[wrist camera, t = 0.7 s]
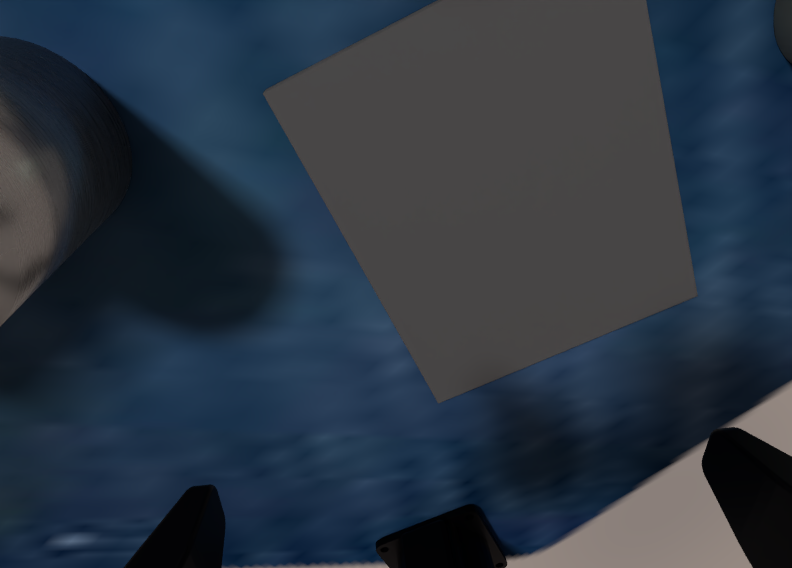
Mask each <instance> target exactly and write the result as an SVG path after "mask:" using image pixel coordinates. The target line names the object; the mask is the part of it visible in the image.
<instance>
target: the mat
mask: <svg viewBox="0 0 792 568" xmlns="http://www.w3.org/2000/svg"><path fill="white" fill-rule="evenodd" d="M263 95H264V96H265V98H266V100H267V102H268V103H269V105H270V107H271V109H272V110H273V112H274V114H275V116H276V118H277V119H278V121H279V123H280V125H281V126H282V128H283V130H284V132H285V133H286V135H287V137H288V139H289V140H290V142H291V144H292V146H293V148H294V149H295V151H296V153H297V155H298V156H299V158H300V160H301V162H302V163H303V165H304V167H305V169H306V170H307V172H308V174H309V176H310V178H311V179H312V181H313V183H314V185H315V186H316V188H317V190H318V192H319V193H320V195H321V197H322V199H323V200H324V202H325V204H326V206H327V208H328V209H329V211H330V213H331V215H332V216H333V218H334V220H335V222H336V223H337V225H338V227H339V229H340V231H341V232H342V234H343V236H344V238H345V239H346V241H347V243H348V245H349V246H350V248H351V250H352V252H353V253H354V255H355V257H356V259H357V261H358V262H359V264H360V266H361V268H362V269H363V271H364V273H365V275H366V276H367V278H368V280H369V282H370V283H371V285H372V287H373V289H374V291H375V292H376V294H377V296H378V298H379V299H380V301H381V303H382V305H383V306H384V308H385V310H386V312H387V313H388V315H389V317H390V319H391V321H392V322H393V324H394V326H395V328H396V329H397V331H398V333H399V335H400V336H401V338H402V340H403V342H404V344H405V345H406V347H407V349H408V351H409V352H410V354H411V356H412V358H413V359H414V361H415V363H416V365H417V366H418V368H419V370H420V372H421V374H422V375H423V377H424V379H425V381H426V382H427V384H428V386H429V388H430V389H431V391H432V393H433V395H434V396H435V398H436V400H437V402H438V403H441V402H443V401H445V400H448V399H450V398H453V397H455V396H458V395H460V394H462V393H465V392H467V391H470V390H472V389H474V388H477V387H479V386H482V385H484V384H486V383H489V382H491V381H494V380H496V379H498V378H501V377H503V376H506V375H508V374H511V373H513V372H515V371H518V370H520V369H523V368H525V367H527V366H530V365H532V364H535V363H537V362H539V361H542V360H544V359H547V358H549V357H551V356H554V355H556V354H559V353H561V352H564V351H566V350H568V349H571V348H573V347H576V346H578V345H580V344H583V343H585V342H588V341H590V340H592V339H595V338H597V337H600V336H602V335H604V334H607V333H609V332H612V331H614V330H617V329H619V328H621V327H624V326H626V325H629V324H631V323H633V322H636V321H638V320H641V319H643V318H645V317H648V316H650V315H653V314H655V313H657V312H660V311H662V310H665V309H667V308H670V307H672V306H674V305H677V304H679V303H682V302H684V301H686V300H689V299H691V298H694V297H696V296H698V295H697V290H696V284H695V278H694V272H693V267H692V261H691V255H690V250H689V244H688V238H687V232H686V227H685V221H684V215H683V210H682V204H681V198H680V192H679V187H678V181H677V175H676V169H675V164H674V158H673V152H672V147H671V141H670V135H669V129H668V124H667V118H666V112H665V107H664V101H663V95H662V89H661V84H660V78H659V72H658V66H657V61H656V55H655V49H654V44H653V38H652V32H651V26H650V21H649V15H648V9H647V4H646V0H437V1H436V2H434V3H432V4H430V5H428V6H426V7H424V8H422V9H420V10H418V11H416V12H414V13H412V14H410V15H409V16H407V17H405V18H403V19H401V20H399V21H397V22H395V23H393V24H391V25H389V26H387V27H385V28H383V29H382V30H380V31H378V32H376V33H374V34H372V35H370V36H368V37H366V38H364V39H362V40H360V41H358V42H356V43H355V44H353V45H351V46H349V47H347V48H345V49H343V50H341V51H339V52H337V53H335V54H333V55H331V56H330V57H328V58H326V59H324V60H322V61H320V62H318V63H316V64H314V65H312V66H310V67H308V68H306V69H304V70H303V71H301V72H299V73H297V74H295V75H293V76H291V77H289V78H287V79H285V80H283V81H281V82H279V83H277V84H276V85H274V86H272V87H270V88H268V89H266V90H265V91H264V93H263Z"/></svg>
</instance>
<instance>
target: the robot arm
mask: <svg viewBox="0 0 792 568" xmlns="http://www.w3.org/2000/svg"><path fill="white" fill-rule="evenodd" d="M702 468H703V472H704V475H705V477H706V479H707V480H708V483H709V485H710V487H711V489H712V491H713V493H714V495H715V496H716V499H717V501H718V503H719V504H720V507H721V508H722V510H723V512H724V514H725V516H726V518H727V520H728V522H729V524H730V526H731V528H732V530H733V532H734V534H735V536H736V538H737V540H738V542H739V544H740V546H741V547H742V549H743V551H744V553H745V555H746V556H747V558H748V560H749V562H750V563H751V565H752V567H753V568H792V457H791V456H790V455H788V454H786V453H784V452H782V451H780V450H778V449H777V448H775V447H773V446H771V445H769V444H768V443H766V442H764V441H762V440H760V439H758V438H757V437H755V436H753V435H751V434H749V433H747V432H746V431H743V430H742V429H739V428H735V427H731V428H722V429H716V430H714V431H713V432H712V433H711V435H710V438H709V441H708V444H707V446H706V450H705V452H704V455H703V458H702ZM224 537H225V515H224V512H223V508H222V505H221V502H220V498H219V495H218V492H217V489H216V487H215V486H214V485H201V486H193V487H191V488H189V489H188V490H187V491H186V492H185V493H184V494H183V495H182V497H181V498H180V499H179V500H178V502H177V503H176V504H175V505H174V506H173V508H172V509H171V510H170V511H169V513H168V514H167V515H166V516H165V518H164V519H163V520H162V521H161V522H160V524H159V525H158V526H157V527H156V529H155V530H154V531H153V532H152V533H151V535H150V536H149V537H148V538H147V540H146V541H145V542H144V543H143V544H142V546H141V547H140V548H139V549H138V551H137V552H136V553H135V554H134V556H133V557H132V558H131V559H130V560H129V562H128V563H127V564H126V565H125V567H124V568H221V566H222V556H223V547H224ZM376 551H377V553H378V554H379V556H380V557H381V558H382V559H383V560H384V562H385V563H386V564H387V565H388V567H389V568H505V567H506V566H507V561H506V558H505V556H504V554H503V552H502V551H501V549H500V547H499V546H498V544H497V542H496V541H495V539H494V537H493V536H492V534H491V532H490V531H489V529H488V527H487V526H486V524H485V522H484V521H483V519H482V517H481V516H480V514H479V512H478V511H477V509H476V508H475V507H474V506H465V507H462V508H460V509H457V510H455V511H452V512H449V513H447V514H444V515H442V516H439V517H437V518H434V519H431V520H429V521H426V522H424V523H421V524H418V525H416V526H413V527H411V528H408V529H405V530H403V531H400V532H398V533H395V534H392V535H390V536H387V537H385V538H382V539H380V540H378V541H377V542H376Z"/></svg>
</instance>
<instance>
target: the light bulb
mask: <svg viewBox="0 0 792 568" xmlns="http://www.w3.org/2000/svg"><path fill="white" fill-rule="evenodd" d="M774 32H775V37H776V41H777V44H778V46H779V48H780V51H781V52H782V54H783V55H784V56H785V58H786V59H787V60H788V61H789V62H790V63H792V0H776V3H775V10H774Z"/></svg>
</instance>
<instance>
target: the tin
mask: <svg viewBox="0 0 792 568" xmlns="http://www.w3.org/2000/svg"><path fill="white" fill-rule="evenodd" d="M131 175H132V154H131V147H130V143H129V138H128V135H127V133H126V130H125V127H124V124H123V122H122V120H121V118H120V116H119V114H118V112H117V111H116V109H115V108H114V106H113V105H112V103H111V101H110V100H109V99H108V97H107V96H106V95H105V94H104V92H103V91H102V90H101V89H100V88H99V87H98V86H97V85H96V84H95V82H94V81H93V80H92V79H91V78H90V77H89V76H87V75H86V74H85V73H84V72H83V71H81V70H80V69H79V68H78V67H76V66H75V65H74V64H72V63H71V62H69V61H68V60H66V59H65V58H63V57H62V56H60V55H58V54H56V53H54V52H52V51H50V50H48V49H46V48H44V47H41V46H39V45H36V44H34V43H31V42H27V41H24V40H20V39H16V38H10V37H3V36H0V326H1V325H2V324H3V323H4V322H5V321H6V320H7V319H8V318H9V317H10V316H11V315H12V314H13V313H14V312H15V311H16V310H17V309H18V308H19V307H20V306H21V305H22V304H23V303H24V302H25V301H26V300H27V299H28V298H29V297H30V296H31V295H32V294H33V293H34V292H35V291H36V290H37V289H38V288H39V287H40V286H41V285H42V284H43V283H44V282H45V281H46V280H47V279H48V278H49V277H50V276H51V275H52V274H53V273H54V272H55V271H56V270H57V269H58V267H59V266H60V265H61V264H62V263H63V262H64V261H65V260H66V259H67V258H68V257H69V256H70V255H71V254H72V253H73V252H74V251H75V250H76V249H77V248H78V247H79V246H80V245H81V244H82V243H83V242H84V241H85V240H86V239H87V238H88V237H89V236H90V235H91V234H92V233H93V232H94V231H95V230H96V229H97V228H98V227H99V226H100V225H101V224H102V223H103V222H104V221H105V220H106V219H107V218H108V217H109V216H110V215H111V214H112V213H113V212H114V211H115V210H116V208H117V207H118V206H119V205H120V203H121V202H122V200H123V198H124V197H125V195H126V192H127V190H128V187H129V184H130V179H131Z"/></svg>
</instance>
